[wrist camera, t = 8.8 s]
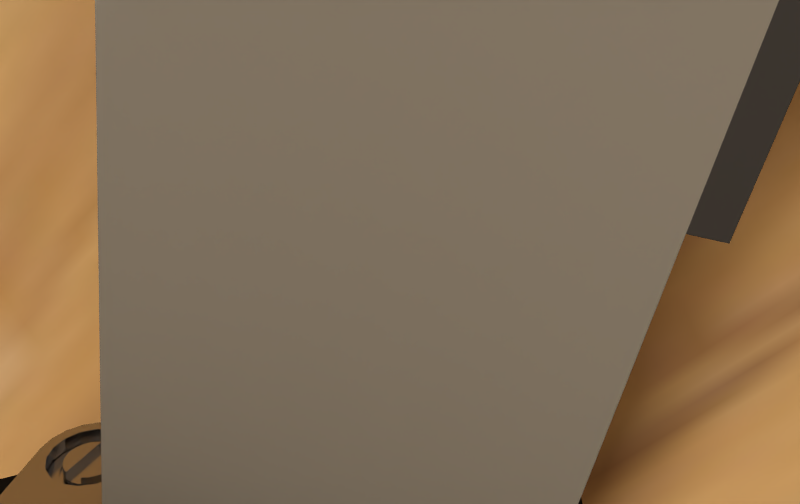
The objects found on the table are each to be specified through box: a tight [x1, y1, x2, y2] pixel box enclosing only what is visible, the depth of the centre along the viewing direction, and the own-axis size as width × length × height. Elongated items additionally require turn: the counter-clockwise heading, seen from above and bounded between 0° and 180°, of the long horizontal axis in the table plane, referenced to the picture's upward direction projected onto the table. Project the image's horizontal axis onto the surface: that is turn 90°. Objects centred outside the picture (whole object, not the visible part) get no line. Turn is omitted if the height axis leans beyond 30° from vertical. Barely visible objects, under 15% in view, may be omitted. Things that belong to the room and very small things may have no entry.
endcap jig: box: [686, 0, 800, 243], centre depth 11 cm, size 20×8×6 cm, turn 170°
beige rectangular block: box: [95, 0, 779, 504], centre depth 9 cm, size 16×4×6 cm, turn 170°
